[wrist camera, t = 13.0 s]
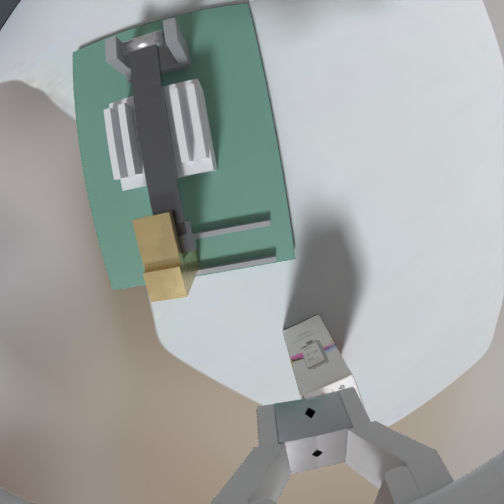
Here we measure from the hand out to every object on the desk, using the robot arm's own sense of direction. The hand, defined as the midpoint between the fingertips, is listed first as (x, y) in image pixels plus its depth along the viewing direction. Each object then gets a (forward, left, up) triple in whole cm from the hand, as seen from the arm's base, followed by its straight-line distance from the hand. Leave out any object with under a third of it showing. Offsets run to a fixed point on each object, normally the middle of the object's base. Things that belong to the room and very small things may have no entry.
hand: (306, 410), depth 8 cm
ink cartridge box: (-4, +14, -24) cm, 28 cm away
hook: (+8, -2, -22) cm, 23 cm away
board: (+7, -12, -23) cm, 27 cm away
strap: (+7, -11, -17) cm, 22 cm away
